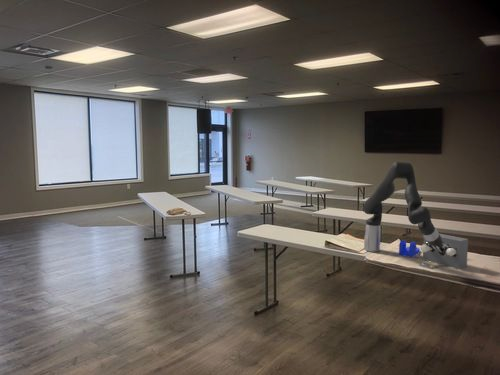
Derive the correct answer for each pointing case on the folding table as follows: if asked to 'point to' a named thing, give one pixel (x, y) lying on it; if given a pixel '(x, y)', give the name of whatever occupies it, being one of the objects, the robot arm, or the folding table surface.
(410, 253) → the bracket
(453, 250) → the near button
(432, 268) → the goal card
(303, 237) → the folding table surface
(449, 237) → the grey button panel
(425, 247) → the far button
